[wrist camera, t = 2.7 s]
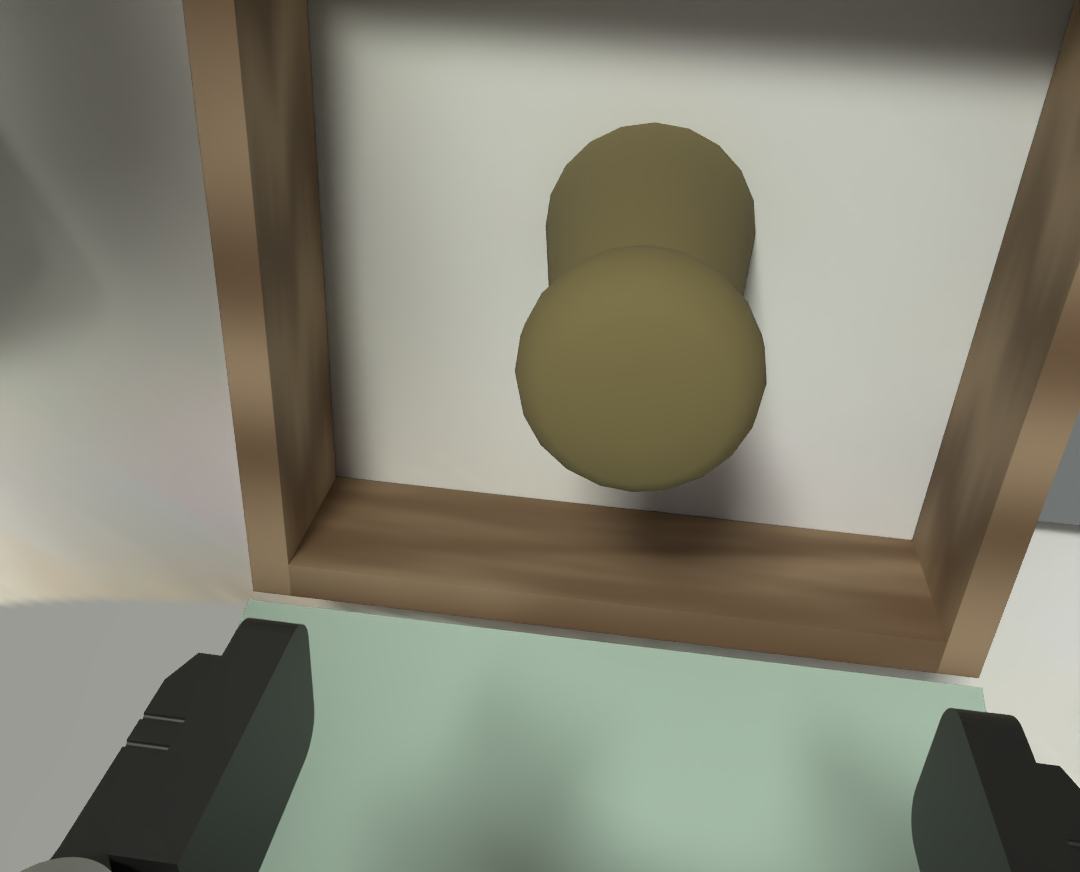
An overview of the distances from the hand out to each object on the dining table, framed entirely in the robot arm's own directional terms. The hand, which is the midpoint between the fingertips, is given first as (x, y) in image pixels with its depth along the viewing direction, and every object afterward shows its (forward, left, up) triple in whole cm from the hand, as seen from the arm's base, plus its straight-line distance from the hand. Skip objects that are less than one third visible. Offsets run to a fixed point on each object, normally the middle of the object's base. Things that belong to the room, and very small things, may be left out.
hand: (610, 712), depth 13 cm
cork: (0, 0, -19) cm, 19 cm away
